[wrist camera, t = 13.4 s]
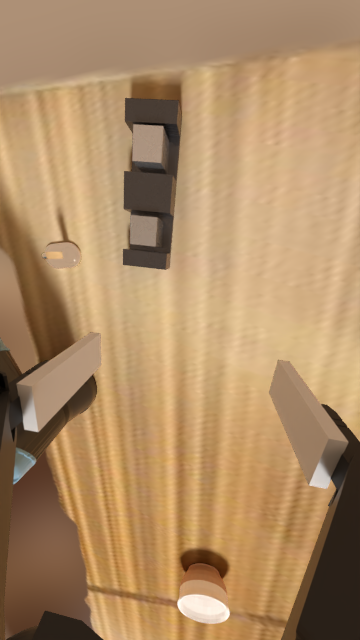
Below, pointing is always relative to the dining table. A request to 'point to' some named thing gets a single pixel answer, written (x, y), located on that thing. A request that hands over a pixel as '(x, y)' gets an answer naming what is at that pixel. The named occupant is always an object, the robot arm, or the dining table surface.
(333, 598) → the robot arm
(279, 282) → the dining table surface
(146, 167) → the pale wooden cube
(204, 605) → the bowl
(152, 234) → the light grey cube
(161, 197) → the rail
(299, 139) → the dining table surface
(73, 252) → the stand
